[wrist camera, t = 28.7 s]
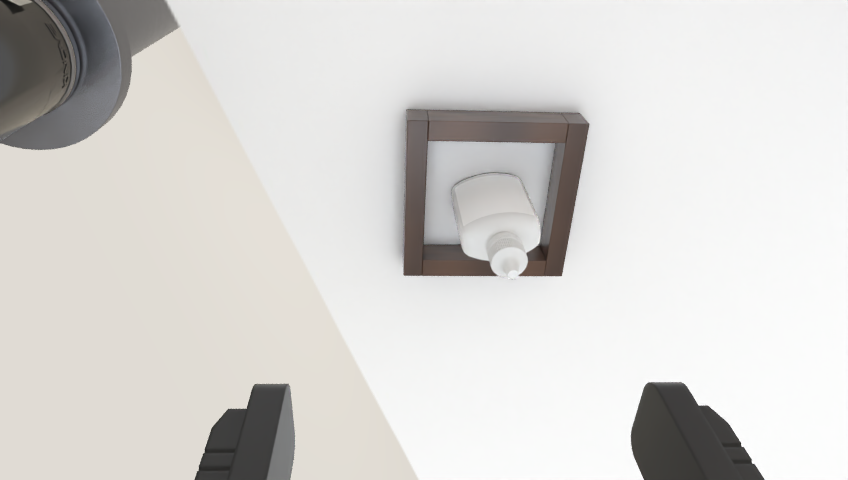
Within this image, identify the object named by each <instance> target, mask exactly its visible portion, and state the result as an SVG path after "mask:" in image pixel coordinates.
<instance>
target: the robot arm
mask: <svg viewBox="0 0 848 480" xmlns="http://www.w3.org/2000/svg"><path fill="white" fill-rule="evenodd" d="M79 72H80V60H79V53H78V49H77V45H76V42H75V40H74V37H73V35H72V33H71V31H70V29H69V27H68V26H67V24H66V22H65V21H64V19H63V18H62V17H61V15H60V14H59V13H58V12H57V10H56V9H55V8H54V7H53V6H52V5H51V4H50V3H49V2H48V1H47V0H0V141H1V140H3V139H4V138H6V137H8V136H9V135H11V134H13V133H14V132H16V131H17V130H19V129H21V128H22V127H24V126H25V125H27V124H29V123H31V122H32V121H34V120H35V119H37V118H39V117H40V116H42V115H45V114H47V113H49V112H51V111H53V110H54V109H56V108H57V107H59V106H60V105H62V104H63V103H64V102H65V101H66V100H67V99H68V98H69V97H70V96H71V94H72V93H73V91H74V89H75V88H76V85H77V82H78V78H79ZM631 445H632V451H633V455H634V458H635V460H636V462H637V465H638V467H639V469H640V471H641V474H642V476H643V478H644V480H764V478H763V477H762V475H761V473H760V472H759V470H758V469H757V467H756V466H755V464H752V459H751V458H750V456H749V455H748V453H747V452H746V450H745V449H744V447H741V442H740V441H739V439H738V438H737V436H736V435H735V433H734V431H733V430H732V428H731V427H730V425H729V424H728V423H727V422H726V421H725V420H724V419H723V418H722V417H720V416H719V415H718V414H717V413H716V412H715V411H714V410H712V409H711V408H710V407H709V406H698V404H697V402H696V401H695V399H694V397H693V396H692V394H691V393H690V391H689V389H688V388H687V386H686V385H685V384H683V383H681V382H650V383H647V384H646V385H645V387H644V390H643V393H642V396H641V400H640V403H639V406H638V410H637V413H636V417H635V420H634V423H633V427H632V431H631ZM294 449H295V432H294V421H293V411H292V401H291V391H290V386H289V384H255V385H254V386H253V389H252V392H251V395H250V399H249V402H248V406H247V409H228V410H227V411H226V412H225V413H224V414H223V416H222V417H221V418H220V419H219V420H218V422H217V423H216V424H215V425H214V426H213V427H212V429H211V432H210V435H209V439H208V441H207V444H206V447H205V453H204V454H203V457H202V459H201V462H200V465H199V471H197V474H196V477H195V480H290V477H291V471H292V466H293V460H294Z"/></svg>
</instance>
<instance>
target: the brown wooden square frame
mask: <svg viewBox="0 0 848 480" xmlns="http://www.w3.org/2000/svg"><path fill="white" fill-rule="evenodd" d="M588 129H589V123H588V122H587V121H586V120H585V119H584V117H583V116H582V115H581V114H580V113H549V112H501V111H454V110H406V150H405V194H404V237H403V274H404V276H498V275H497V274H495V273H494V272H493V270H492V269H491V265H490V262H489V261H486V260H480V259H476V258H473V257H470V256H468V255H466V254H465V253H464V251H463V249H462V246H461V245H423V241H424V218H425V194H426V170H427V147H428V141H475V142H531V143H556V145H555V152H554V158H553V165H552V171H551V178H550V184H549V191H548V197H547V203H546V210H545V216H544V223H543V229H542V236H541V242H540V246H536V247H535V248H534V249H532V250H531V251H529V252H527V253H526V254H527V257H528V263H527V266H526V268H525V270H524V271H523V272H522V273H521V274H519V276H562V272H563V266H564V261H565V255H566V250H567V244H568V239H569V233H570V228H571V222H572V217H573V211H574V206H575V200H576V195H577V189H578V184H579V178H580V173H581V167H582V162H583V156H584V151H585V145H586V140H587V134H588Z"/></svg>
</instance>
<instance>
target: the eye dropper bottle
mask: <svg viewBox="0 0 848 480" xmlns="http://www.w3.org/2000/svg"><path fill="white" fill-rule="evenodd" d="M452 202H453V209H454V214H455V218H456V223H457V228H458V233H459V238H460V242H461V246H462V249H463V251H464V253H465V254H466V255H468V256H470V257H473V258H476V259H480V260H486V261H489V262H490V265H491V269H492V270H493V272H494V273H495V274H497V275H498V276H500V277H503V278H509V279H512V280H513V279H516V278H518V276H519V274H521V273H522V272H523V271H524V270H525V268H526V266H527V263H528V257H527V254H526V253H527V252H529V251H531V250H532V249H534V248H535V247H536V246H537V245H538V244H539V243H540V239H541V231H540V222H539V219H538V217H537V214H536V212H535V210H534V208H533V205H532V203H531V201H530V199H529V197H528V194H527V192H526V190H525V188H524V186H523V183H522V181H521V179H519V178H518V177H516V176H513V175H509V174H503V173H487V174H481V175H477V176H473V177H470V178H468V179H466V180H463V181H461V182H460V183H458V184H456V185H455V186H454V187H453V189H452Z"/></svg>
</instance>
